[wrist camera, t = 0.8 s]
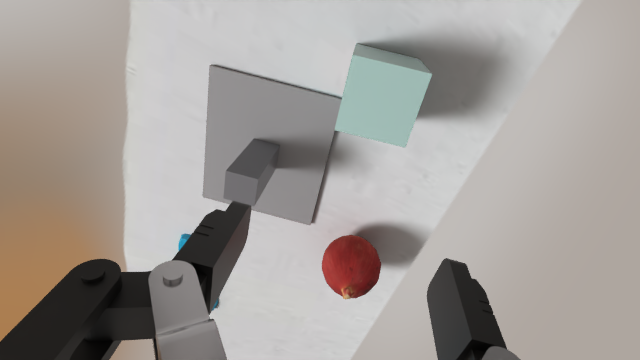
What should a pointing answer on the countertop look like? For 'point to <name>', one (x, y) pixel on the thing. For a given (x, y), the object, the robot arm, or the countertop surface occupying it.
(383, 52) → the mint green square prism
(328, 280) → the onion
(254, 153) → the post
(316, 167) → the mat
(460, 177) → the countertop surface
